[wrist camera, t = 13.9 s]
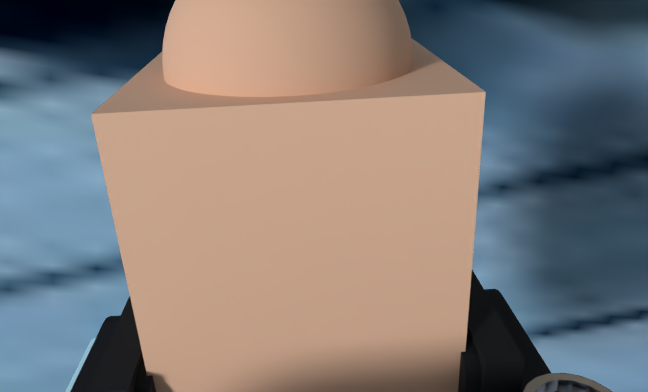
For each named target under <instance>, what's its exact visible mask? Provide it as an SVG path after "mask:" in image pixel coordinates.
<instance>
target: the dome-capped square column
mask: <svg viewBox="0 0 648 392" xmlns="http://www.w3.org/2000/svg"><path fill="white" fill-rule="evenodd" d="M485 93H486V92H485V91H484V90H482V89H481V88H479V87H478V86H477V85H475V84H474V83H473V82H471V81H470V80H468V79H467V78H466V77H464V76H463V75H461V74H460V73H459V72H457V71H456V70H455V69H453V68H452V67H450V66H449V65H448V64H446V63H445V62H444V61H442V60H441V59H439V58H438V57H437V56H435V55H434V54H433V53H431V52H430V51H428V50H427V49H426V48H424V47H423V46H422V45H420V44H419V43H417V42H416V41H415V40H413V39H411V35H410V29H409V26H408V23H407V20H406V17H405V14H404V11H403V9H402V7H401V5H400V3H399V1H398V0H176V1H175V3H174V5H173V7H172V9H171V12H170V15H169V18H168V21H167V24H166V29H165V34H164V40H163V52H161V53H160V54H159V55H158V56H157V57H156V58H154V59H153V60H152V61H151V62H150V63H149V64H148V65H146V66H145V67H144V68H143V69H142V70H141V71H140V72H138V73H137V74H136V75H135V76H134V77H133V78H132V79H130V80H129V81H128V82H127V83H126V84H125V85H124V86H122V87H121V88H120V89H119V90H118V91H117V92H116V93H115V94H113V95H112V96H111V97H110V98H109V99H108V100H107V101H105V102H104V103H103V104H102V105H101V106H100V107H99V108H97V109H96V110H95V111H94V112H93V113H92V114H91V116H92V121H93V126H94V130H95V135H96V140H97V144H98V149H99V154H100V158H101V163H102V168H103V172H104V177H105V182H106V186H107V191H108V196H109V200H110V205H111V210H112V214H113V219H114V224H115V228H116V233H117V238H118V242H119V247H120V252H121V256H122V261H123V266H124V270H125V275H126V280H127V284H128V289H129V294H130V298H131V303H132V308H133V312H134V317H135V322H136V326H137V331H138V336H139V340H140V345H141V350H142V354H143V359H144V364H145V368H146V373H147V376H150V375H153V379H154V384H155V389H156V392H458V385H459V371H460V358H461V352H465V351H466V338H467V325H468V312H469V299H470V287H471V274H472V261H473V248H474V235H475V222H476V209H477V196H478V183H479V170H480V158H481V145H482V132H483V119H484V106H485Z"/></svg>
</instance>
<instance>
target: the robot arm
mask: <svg viewBox="0 0 648 392" xmlns="http://www.w3.org/2000/svg"><path fill="white" fill-rule="evenodd" d="M70 392H156V389H155V384H154V379H153V375H150V376H147V373H146V368H145V364H144V359H143V354H142V350H141V345H140V340H139V336H138V331H137V326H136V322H135V317H134V312H133V308H132V303H131V298H130V296H129V299H128V301H127V303H126V305H125V308H124V310H123V312H122V314H121V316H110V317H108V318H106V320H105V321H104V323H103V325H102V327H101V329H100V331H99V333H98V335H97V337H96V339H95V341H94V343H93V345H92V347H91V349H90V352H89V354H88V356H87V358H86V360H85V362H84V364H83V366H82V368H81V370H80V372H79V374H78V376H77V378H76V381H75V383H74V385H73V387H72V389H71V391H70ZM458 392H612V391H611V390H610V389H608V388H606V387H604V386H603V385H601V384H599V383H597V382H596V381H593V380H590V379H588V378H585V377H582V376H579V375H573V374H567V373H551V372H550V370H549V369H548V367H547V366H546V364H545V362H544V361H543V359H542V358H541V356H540V355H539V353H538V351H537V350H536V348H535V347H534V345H533V343H532V342H531V340H530V339H529V337H528V335H527V334H526V332H525V331H524V329H523V328H522V326H521V324H520V323H519V321H518V320H517V318H516V316H515V315H514V313H513V312H512V310H511V309H510V307H509V305H508V304H507V302H506V301H505V299H504V297H503V296H502V294H501V293H500V292H499V291H498V290H496V289H486V290H484V289H483V287H482V286H481V284H480V282H479V280H478V279H477V277H476V275H475V274H474V272H473V270H472V274H471V287H470V299H469V312H468V325H467V338H466V351H465V352H461V358H460V371H459V385H458Z"/></svg>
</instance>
